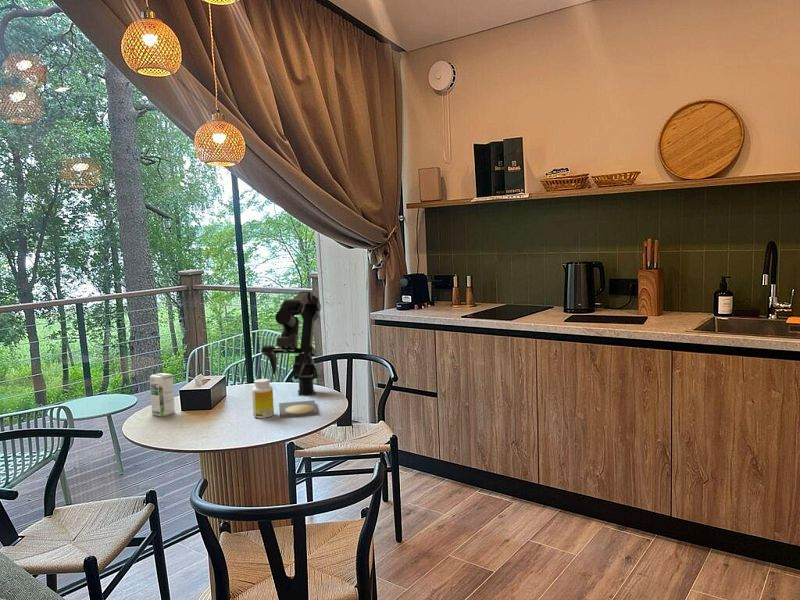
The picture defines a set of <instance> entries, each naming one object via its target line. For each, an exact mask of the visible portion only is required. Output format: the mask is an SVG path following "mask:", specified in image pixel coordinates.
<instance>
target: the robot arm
mask: <svg viewBox="0 0 800 600" xmlns="http://www.w3.org/2000/svg"><path fill="white" fill-rule="evenodd" d="M321 307H322V305H321V301H320V300H319V298H318V296H317V297H316V296H315V295H314V294H313V292H312V291H309V290H307V291H306V290H304V291H299V292H298V293H297V294H296V295H295V296H294V297H293V298H290V299H289V298H287V299H284V300H283V301H282V303H281V304H280V308H279V309H278V311H277V312H276V314H275V316H274V318H275V322H276V323H277V324H278V325H279V326H280V327H282V332H281V333H280V336H279V337H276V347H277V348H276V347H275V346H274V345H263V346H262V347H261V352H260V353H261V354H262V355H264V356H265V357H266V358H268V359H269V362H270V365H271V370H272V374H273V375H276V373H277V372H276V371H277V364H278V362H277V361H278V357H277V354H297V355H295V357H294V362H293V365H292V374H293V379H294V380H298V390H297V394H298V396H305V395H315V394H316V391H315V388H314V380H315V379H318V378H319V375H318V374H319V373H318V369H317V367H316V364H315V360H314V358H313V357H316V349H315V347H313V341H314V340H313V338H314V327H315V322H316V320H317V319H318V318H319V316H320V312H321V309H322V308H321ZM297 316H301V317H302V328H301V336H300V338H299V328H300V319H299V318H298V317H297ZM299 339H300V346H299V347H300V348H299V347H298V340H299Z"/></svg>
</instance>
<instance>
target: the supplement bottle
mask: <svg viewBox="0 0 800 600" xmlns="http://www.w3.org/2000/svg"><path fill="white" fill-rule="evenodd" d="M273 390H274V389H273V386H271V385H270V379H269V378H258V379H256V380H254V386H253V387H252V389H251V395H252V396H251V397H252V411H253V412H252V414H253V417H254V418H256V417H257V419H267V418H266V417H268V418H270V416H271V417H272V416H274V414H275V413H274V392H273Z"/></svg>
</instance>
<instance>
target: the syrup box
mask: <svg viewBox="0 0 800 600" xmlns="http://www.w3.org/2000/svg"><path fill="white" fill-rule="evenodd" d="M149 384H150V385H149V386H150V400H151V403H150V404H151V415H152V416H157V417H158V416H159V417H165V416H168V415H172V414H174V413H176V411H175V409H176V408H175V395H174V394H175V392H174V391H175V390H174V376H173V374H172V373H164V372H160V373H154V374H151V375H150V376H149Z"/></svg>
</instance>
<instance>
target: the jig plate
mask: <svg viewBox="0 0 800 600" xmlns="http://www.w3.org/2000/svg"><path fill="white" fill-rule="evenodd" d="M278 409H279V410H278V411H279V418H280V417H284V418H292V417H293V416H295V417H306V416H313V415H318V409H317V406H316V402H315V400H302V401H292V402H291V401H290V402H288V401H287V402H279V403H278ZM305 415H306V416H305ZM293 418H294V417H293Z"/></svg>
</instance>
